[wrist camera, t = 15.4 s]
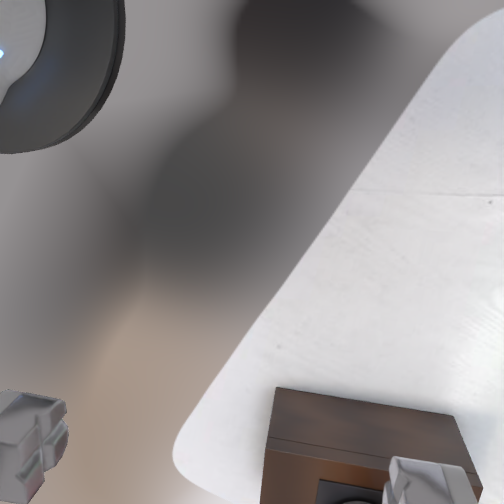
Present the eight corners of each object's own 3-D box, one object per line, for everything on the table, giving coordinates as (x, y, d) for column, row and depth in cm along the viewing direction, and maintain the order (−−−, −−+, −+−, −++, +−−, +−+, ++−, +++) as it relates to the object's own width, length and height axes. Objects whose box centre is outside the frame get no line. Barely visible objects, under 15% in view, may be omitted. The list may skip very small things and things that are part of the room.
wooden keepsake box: (266, 477, 54) (250, 578, 43) (275, 387, 50) (261, 473, 38) (426, 507, 52) (456, 624, 40) (453, 415, 47) (496, 518, 35)
